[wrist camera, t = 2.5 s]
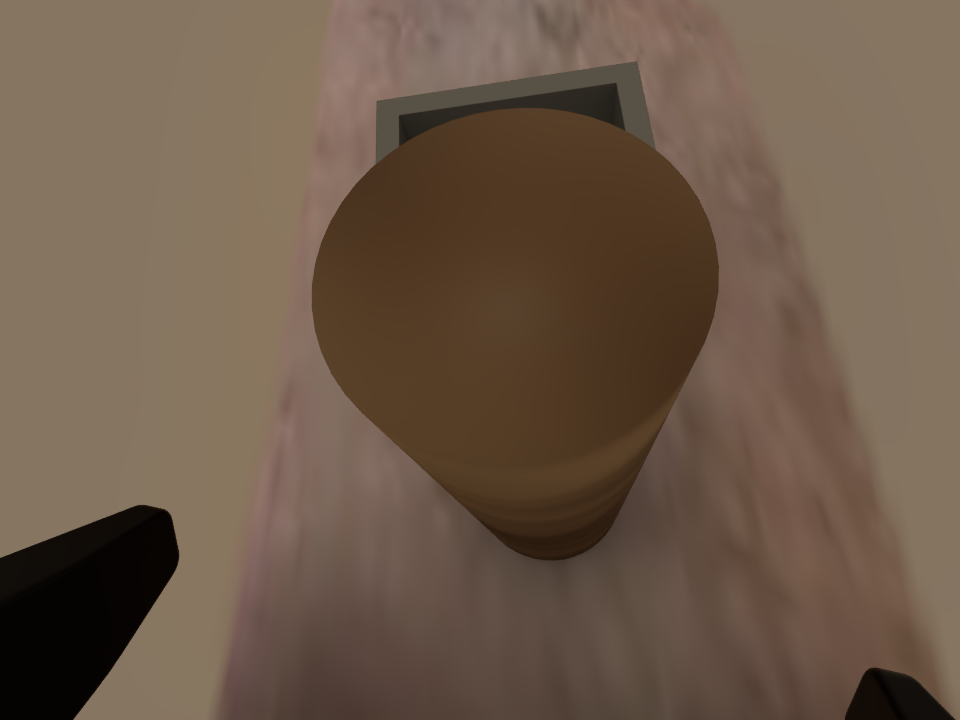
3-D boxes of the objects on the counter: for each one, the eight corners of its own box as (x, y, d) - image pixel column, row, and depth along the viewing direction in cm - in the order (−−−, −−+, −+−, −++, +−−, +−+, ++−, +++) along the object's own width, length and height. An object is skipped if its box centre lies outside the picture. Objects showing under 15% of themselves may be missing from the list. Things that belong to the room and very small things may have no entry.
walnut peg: (584, 588, 17) (615, 549, 5) (451, 517, 19) (236, 357, 7) (644, 451, 18) (778, 171, 7) (515, 393, 20) (431, 70, 8)
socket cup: (659, 370, 19) (687, 298, 15) (418, 395, 20) (373, 332, 16) (623, 172, 22) (637, 61, 18) (414, 201, 23) (376, 101, 19)
